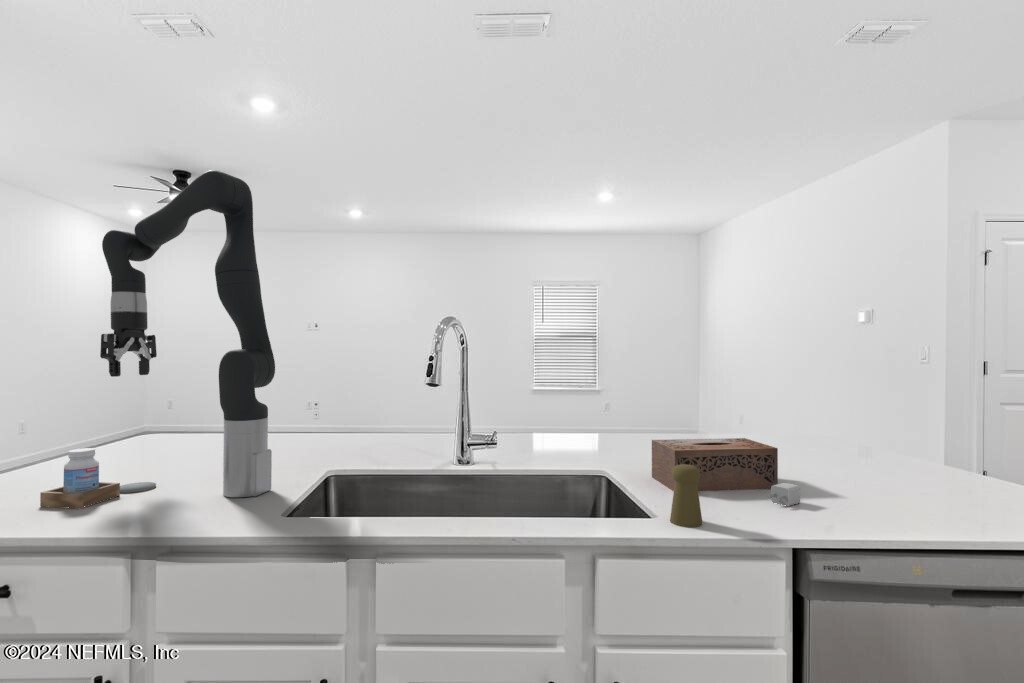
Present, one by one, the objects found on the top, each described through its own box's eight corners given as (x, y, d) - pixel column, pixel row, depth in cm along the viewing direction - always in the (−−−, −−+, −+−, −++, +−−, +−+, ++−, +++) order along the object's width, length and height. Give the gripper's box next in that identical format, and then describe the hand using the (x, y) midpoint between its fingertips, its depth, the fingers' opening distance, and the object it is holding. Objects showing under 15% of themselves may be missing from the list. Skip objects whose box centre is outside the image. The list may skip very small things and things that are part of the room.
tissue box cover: (744, 475, 144) (744, 438, 144) (777, 489, 129) (777, 448, 129) (651, 478, 141) (651, 439, 141) (674, 493, 126) (674, 450, 126)
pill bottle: (79, 506, 114) (79, 453, 115) (55, 504, 116) (56, 452, 116) (105, 498, 120) (106, 447, 121) (83, 496, 122) (83, 446, 122)
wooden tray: (119, 496, 122) (119, 482, 122) (79, 508, 113) (79, 494, 113) (83, 494, 124) (83, 481, 124) (40, 506, 114) (40, 492, 114)
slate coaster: (164, 485, 132) (164, 482, 132) (136, 494, 124) (136, 491, 124) (135, 483, 133) (135, 481, 133) (106, 492, 125) (106, 489, 125)
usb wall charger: (800, 504, 117) (800, 486, 117) (781, 509, 113) (781, 490, 113) (782, 500, 120) (782, 482, 120) (764, 504, 116) (764, 486, 116)
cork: (665, 517, 107) (665, 462, 107) (694, 516, 108) (694, 461, 108) (677, 527, 101) (676, 469, 101) (708, 526, 102) (707, 468, 102)
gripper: (118, 308, 128) (119, 376, 128) (164, 312, 142) (165, 374, 142) (90, 309, 129) (91, 377, 129) (139, 313, 143) (140, 374, 143)
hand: (130, 375), depth 135 cm, fingers open, 8 cm apart
